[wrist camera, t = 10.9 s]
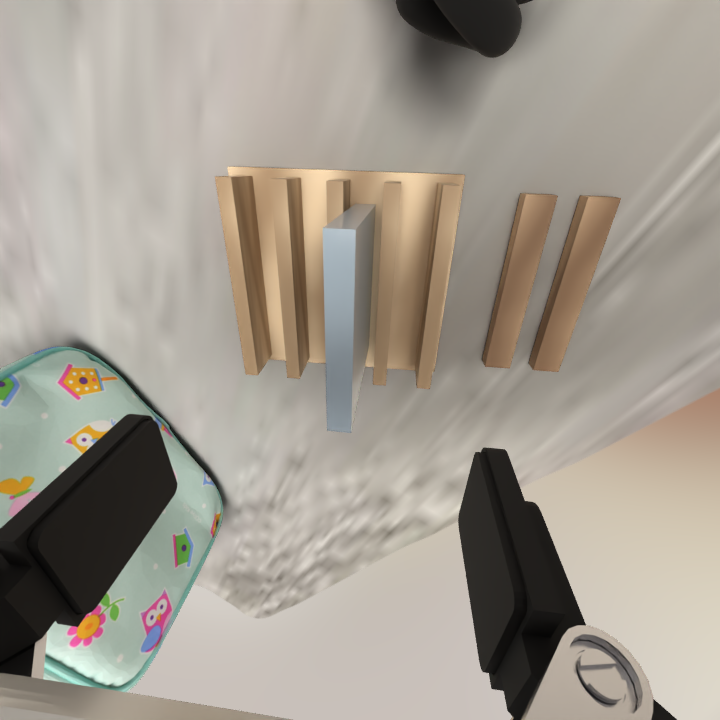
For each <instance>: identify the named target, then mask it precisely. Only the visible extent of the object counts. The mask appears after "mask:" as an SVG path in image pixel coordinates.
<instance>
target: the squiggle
mask: <svg viewBox="0 0 720 720" xmlns="http://www.w3.org/2000/svg"><path fill="white" fill-rule="evenodd" d="M530 1H532V0H396V4H397V8H398V11H399V13H400V15H401V16H402V17H403V18H404V20H406V21H407V22H408V23H409V24H410V25H412V26H413V27H414V28H416V29H417V30H419V31H421V32H422V33H424V34H426V35H428V36H431V37H433V38H435V39H438V40H441V41H444V42H448V43H451V44H455V45H459V46H463V47H466V48H469V49H472V50H475V51H477V52H479V53H481V54H482V55H484V56H486V57H491V58H494V57H498V56H501V55H503V54H504V53H505V52H507V51H508V50H509V49H510V48H511V47H512V46H513V44H514V43H515V41H516V39H517V37H518V35H519V32H520V29H521V23H522V17H521V11H520V8H519V6H518V5H519V4H523V3H527V2H530Z"/></svg>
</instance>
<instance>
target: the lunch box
mask: <svg viewBox="0 0 720 720" xmlns="http://www.w3.org/2000/svg"><path fill="white" fill-rule="evenodd" d="M127 414H139V415H148V416H151V417H152V418H153V420H154V421H156V422H157V424H158V426H159V429H160V432H161V435H162V438H163V441H164V444H165V447H166V450H167V453H168V456H169V459H170V462H171V465H172V468H173V471H174V474H175V477H176V480H177V490H176V493H175V495H174V496H173V498H172V499H171V501H170V502H169V504H168V505H167V506H166V508H165V509H164V511H163V512H162V514H161V515H160V517H159V518H158V519H157V521H156V522H155V524H154V525H153V527H152V528H151V530H150V531H149V532H148V534H147V535H146V537H145V538H144V540H143V541H142V543H141V544H140V545H139V547H138V548H137V550H136V551H135V553H134V554H133V556H132V557H131V558H130V560H129V561H128V563H127V564H126V566H125V567H124V569H123V570H122V571H121V573H120V574H119V576H118V577H117V579H116V580H115V582H114V583H113V584H112V586H111V587H110V589H109V590H108V592H107V593H106V595H105V596H104V597H103V599H102V600H101V602H100V603H99V605H98V606H97V607H96V608H95V610H93V611H92V612H91V613H89V614H87V615H86V616H85V618H84V619H83V621H82V622H81V623H80V625H79V626H78V627H75V626H68V625H61V624H57V622H56V621H55V622H54V623H53V625H52V626H51V627H50V628H49V630H48V631H47V641H46V653H45V664H44V676H43V679H45V680H51V681H58V682H64V683H70V684H77V685H83V686H89V687H96V688H102V689H108V690H115V691H121V692H128V691H129V690H131V689H132V688H133V687H134V686H135V685H136V684H137V683H138V681H139V680H140V679H141V678H142V677H143V675H144V674H145V672H146V671H147V669H148V668H149V666H150V664H151V663H152V661H153V659H154V658H155V656H156V654H157V652H158V651H159V649H160V647H161V645H162V643H163V641H164V639H165V637H166V635H167V633H168V632H169V630H170V628H171V626H172V624H173V622H174V620H175V618H176V617H177V615H178V612H179V611H180V609H181V606H182V604H183V603H184V601H185V599H186V597H187V595H188V593H189V591H190V589H191V587H192V585H193V583H194V581H195V579H196V578H197V576H198V574H199V572H200V570H201V568H202V566H203V564H204V562H205V559H206V557H207V555H208V553H209V551H210V549H211V547H212V545H213V542H214V540H215V538H216V536H217V534H218V531H219V528H220V526H221V522H222V517H223V504H222V500H221V496H220V493H219V491H218V489H217V487H216V486H215V484H214V483H213V481H212V480H211V479H210V477H209V476H208V475H207V474H206V473H205V471H204V470H203V469H202V468H201V467H200V466H199V465H198V464H197V463H196V461H195V460H194V459H193V458H192V457H191V456H190V454H189V453H188V452H187V451H186V450H185V448H184V447H183V446H182V445H181V443H180V442H179V441H178V440H177V438H176V437H175V435H174V434H173V433H172V431H171V430H170V429H169V427H170V426H169V425H168V424H167V423H166V422H165V421H164V420H163V419H162V418H161V417H160V416H158V415H157V414H156V413H155V412H154V411H153V410H151V409H150V408H149V407H148V406H147V405H146V404H145V403H144V402H143V401H142V400H141V399H140V398H139V397H138V396H137V394H136V393H135V392H134V391H133V390H132V389H131V388H130V386H129V385H128V384H127V383H126V382H125V381H124V380H123V378H122V377H121V376H120V375H119V374H117V373H116V372H115V371H114V370H113V369H112V368H111V367H109V366H108V365H107V364H106V363H104V362H103V361H101V360H100V359H99V358H97V357H96V356H94V355H92V354H90V353H88V352H86V351H83V350H80V349H76V348H72V347H62V346H61V347H51V348H47V349H44V350H41V351H38V352H35V353H33V354H31V355H28V356H26V357H24V358H22V359H19V360H17V361H15V362H13V363H11V364H9V365H7V366H5V367H3V368H0V528H1V527H2V526H4V525H5V524H6V523H7V522H8V521H9V520H10V519H11V518H12V517H13V516H15V515H16V514H17V513H18V512H19V511H20V510H21V509H22V508H23V507H25V506H26V505H27V504H28V503H29V502H30V501H31V500H32V499H33V498H35V497H36V496H37V495H38V494H39V493H40V492H41V491H42V490H43V489H44V488H46V487H47V486H48V485H49V484H50V483H51V482H52V481H53V480H54V479H56V478H57V477H58V476H59V475H60V474H61V473H62V472H63V471H64V470H66V469H67V468H68V467H69V466H70V465H71V464H72V463H73V462H74V461H76V460H77V459H78V458H79V457H80V456H81V455H82V454H83V453H84V452H85V451H87V450H88V449H89V448H90V447H91V446H92V445H93V444H94V443H95V442H97V441H98V440H99V439H100V438H101V437H102V436H103V435H104V434H105V433H107V432H108V431H109V430H110V429H111V428H112V427H113V426H114V425H115V424H116V423H118V422H119V421H120V420H121V419H122V418H123V417H124V416H126V415H127Z"/></svg>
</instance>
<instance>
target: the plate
mask: <svg viewBox="0 0 720 720" xmlns="http://www.w3.org/2000/svg"><path fill="white" fill-rule="evenodd" d="M375 211H376V204H357V203H356V204H354V205H353V206H352V207H350V208H349V209H348V210H346V211H345V212H343V213H342V214H341V215H339V216H338V217H337V218H335V219H334V220H333V221H331V222H330V223H329V224H327V225H326V226H325V227H323V268H324V313H325V357H326V401H327V431H337V432H347V433H351V432H352V427H353V422H354V417H355V413H356V408H357V403H358V398H359V393H360V388H361V383H362V378H363V374H364V369H365V364H366V359H367V354H368V349H369V338H370V317H371V296H372V275H373V254H374V232H375Z"/></svg>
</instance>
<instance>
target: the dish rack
mask: <svg viewBox="0 0 720 720" xmlns="http://www.w3.org/2000/svg"><path fill="white" fill-rule="evenodd" d="M228 174H229V176H218V177H215V180H216V187H217V193H218V200H219V206H220V212H221V219H222V225H223V232H224V238H225V245H226V251H227V257H228V264H229V270H230V277H231V283H232V289H233V296H234V302H235V309H236V315H237V321H238V328H239V334H240V341H241V347H242V354H243V360H244V366H245V373H246V374H248V375H258V374H259V373H260V371H261V370H262V369H263V367H264V366H265V364H266V363H267V361H268V360H269V359H272V360H286V368H287V378H298V379H300V377H301V375H302V373H303V371H304V368H305V366H306V364H307V362H312V363H325V364H326V357H325V313H324V268H323V227H325V226H326V225H327V224H329V223H330V222H331V221H333V220H334V219H335V218H337V217H338V216H339V215H341V214H342V213H343V212H345V211H346V210H348V209H349V208H350V207H352V206H353V205H354V204H356V203H357V204H376V211H375V232H374V254H373V275H372V296H371V317H370V338H369V349H368V354H367V359H366V364H365V367H374V372H373V384H374V385H386V375H387V368H391V369H404V370H415V371H416V385H417V388H424V389H430V385H431V378H432V372H434V370H435V364H436V357H437V351H438V345H439V338H440V332H441V325H442V319H443V313H444V306H445V300H446V294H447V287H448V281H449V274H450V268H451V262H452V255H453V249H454V242H455V236H456V230H457V223H458V217H459V211H460V204H461V198H462V191H463V185H464V179H465V175H461V174H432V173H403V172H374V171H345V170H316V169H287V168H258V167H228Z"/></svg>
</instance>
